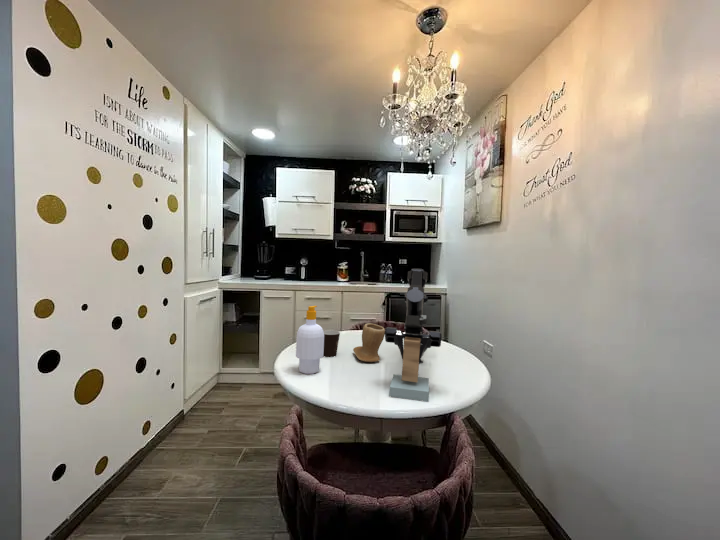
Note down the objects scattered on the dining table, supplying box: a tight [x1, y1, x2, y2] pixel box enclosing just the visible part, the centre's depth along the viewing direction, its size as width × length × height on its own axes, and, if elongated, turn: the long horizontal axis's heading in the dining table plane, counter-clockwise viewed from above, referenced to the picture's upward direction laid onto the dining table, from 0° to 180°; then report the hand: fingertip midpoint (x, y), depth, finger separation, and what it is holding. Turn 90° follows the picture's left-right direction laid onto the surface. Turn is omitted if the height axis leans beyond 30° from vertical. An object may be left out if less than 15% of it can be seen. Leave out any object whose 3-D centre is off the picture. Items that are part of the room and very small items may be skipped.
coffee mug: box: [323, 329, 341, 358], centre depth 144 cm, size 12×9×10 cm
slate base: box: [389, 373, 430, 402], centre depth 107 cm, size 12×12×3 cm
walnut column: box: [401, 337, 421, 382], centre depth 107 cm, size 5×5×13 cm
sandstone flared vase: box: [352, 323, 386, 363], centre depth 140 cm, size 15×12×15 cm
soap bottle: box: [295, 305, 324, 375], centre depth 122 cm, size 10×10×24 cm
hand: (411, 359), depth 105 cm, fingers closed on walnut column, 5 cm apart
